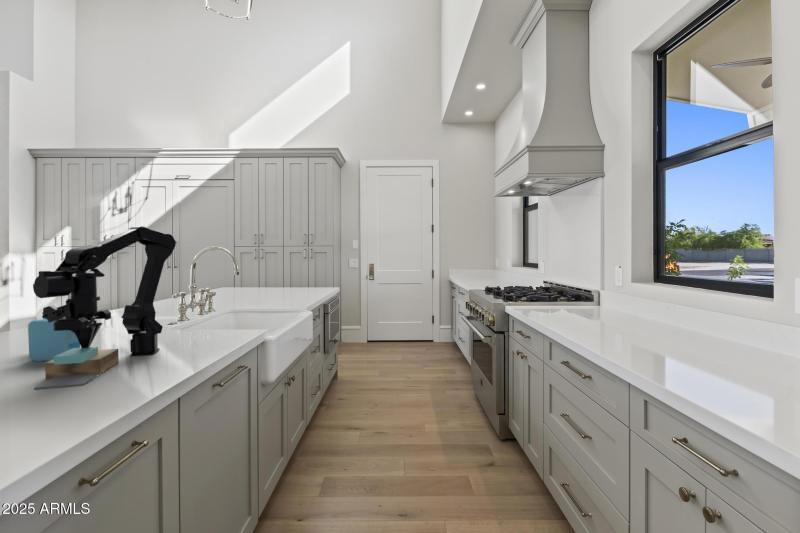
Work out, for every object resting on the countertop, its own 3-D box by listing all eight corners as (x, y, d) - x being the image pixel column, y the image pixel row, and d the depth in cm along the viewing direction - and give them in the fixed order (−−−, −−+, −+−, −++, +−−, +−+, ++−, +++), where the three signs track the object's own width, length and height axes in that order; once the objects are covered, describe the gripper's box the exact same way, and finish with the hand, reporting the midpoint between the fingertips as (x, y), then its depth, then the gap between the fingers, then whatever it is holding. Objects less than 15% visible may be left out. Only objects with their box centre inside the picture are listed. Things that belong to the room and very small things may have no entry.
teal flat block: (98, 354, 110) (97, 347, 110) (82, 362, 102) (81, 355, 102) (72, 355, 109) (72, 348, 109) (53, 364, 100) (53, 356, 100)
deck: (118, 362, 117) (118, 348, 117) (100, 374, 105) (100, 359, 105) (69, 365, 113) (69, 351, 113) (45, 378, 102) (45, 363, 102)
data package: (80, 357, 123) (79, 318, 122) (68, 361, 118) (66, 321, 118) (42, 357, 123) (41, 318, 123) (28, 361, 119) (27, 321, 118)
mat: (102, 373, 106) (102, 371, 106) (84, 385, 97) (84, 383, 97) (57, 376, 103) (57, 375, 103) (34, 389, 94) (34, 387, 94)
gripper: (66, 291, 116) (68, 344, 117) (26, 298, 98) (29, 361, 99) (111, 290, 119) (112, 342, 120) (80, 297, 101) (82, 358, 102)
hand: (85, 350), depth 110 cm, fingers closed
